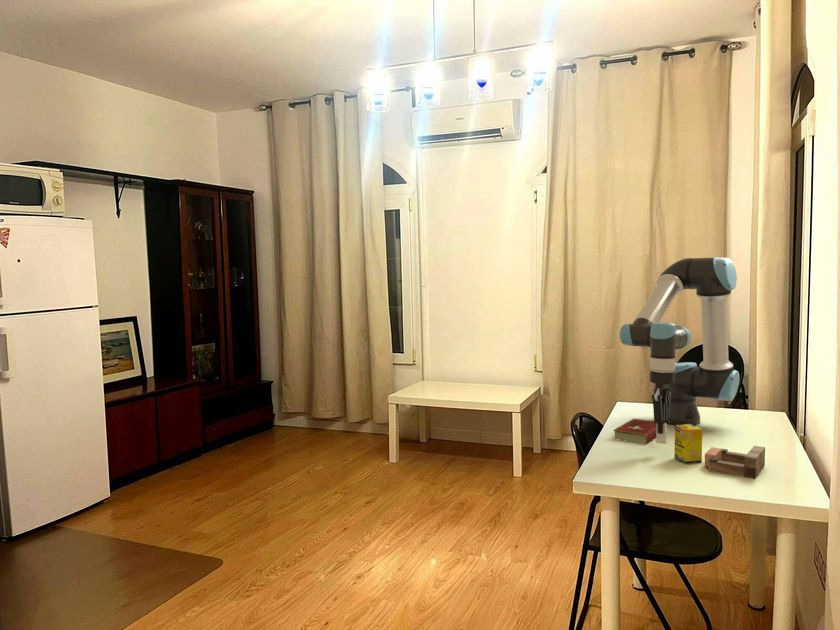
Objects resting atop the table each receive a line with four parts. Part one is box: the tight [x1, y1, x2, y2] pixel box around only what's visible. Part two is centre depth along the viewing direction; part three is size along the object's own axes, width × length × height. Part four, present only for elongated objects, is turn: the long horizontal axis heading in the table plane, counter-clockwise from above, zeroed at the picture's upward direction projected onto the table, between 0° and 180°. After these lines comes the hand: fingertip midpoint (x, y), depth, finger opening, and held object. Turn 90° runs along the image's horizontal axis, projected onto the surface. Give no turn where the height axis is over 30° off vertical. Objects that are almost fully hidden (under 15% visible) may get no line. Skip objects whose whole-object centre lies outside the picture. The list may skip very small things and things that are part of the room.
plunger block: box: [704, 446, 723, 468], centre depth 197 cm, size 8×3×4 cm, turn 142°
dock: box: [708, 445, 766, 480], centre depth 193 cm, size 14×12×6 cm
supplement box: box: [673, 424, 703, 465], centre depth 201 cm, size 6×6×11 cm
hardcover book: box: [612, 418, 657, 445], centre depth 232 cm, size 12×21×4 cm, turn 142°
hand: (661, 442), depth 206 cm, fingers closed
